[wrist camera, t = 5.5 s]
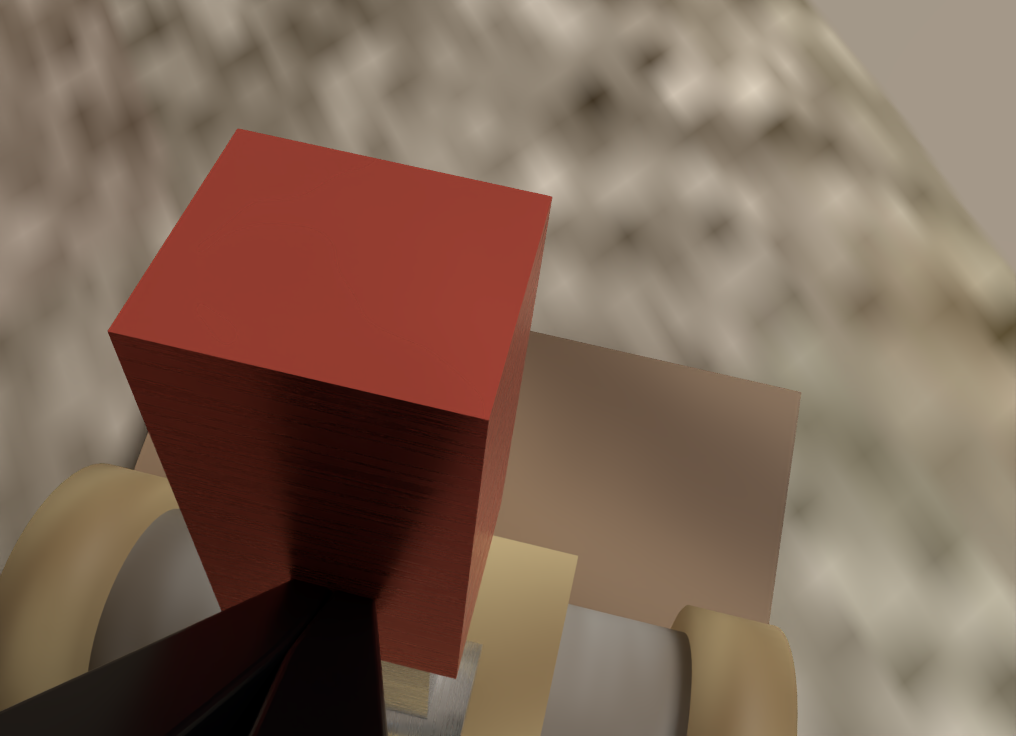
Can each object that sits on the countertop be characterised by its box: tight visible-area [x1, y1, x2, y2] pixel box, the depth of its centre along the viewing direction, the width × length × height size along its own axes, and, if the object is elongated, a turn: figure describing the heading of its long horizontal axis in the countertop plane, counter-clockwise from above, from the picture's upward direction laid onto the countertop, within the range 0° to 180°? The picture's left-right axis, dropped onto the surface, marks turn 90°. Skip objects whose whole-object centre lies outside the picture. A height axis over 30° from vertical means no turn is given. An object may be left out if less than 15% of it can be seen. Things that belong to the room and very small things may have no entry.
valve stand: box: [0, 331, 801, 736], centre depth 17 cm, size 16×14×6 cm
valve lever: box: [108, 129, 552, 736], centre depth 11 cm, size 2×3×10 cm
